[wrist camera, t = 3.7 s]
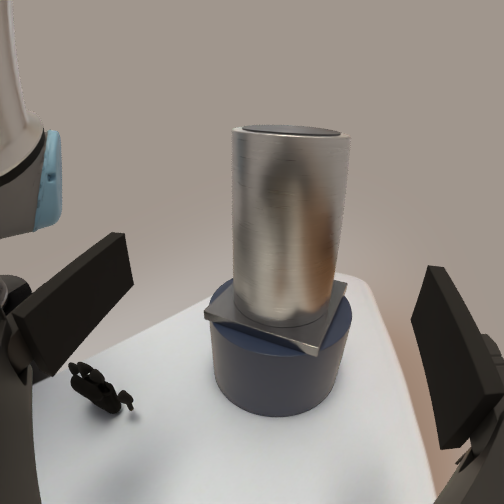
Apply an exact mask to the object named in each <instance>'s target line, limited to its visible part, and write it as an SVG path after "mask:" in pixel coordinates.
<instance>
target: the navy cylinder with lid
mask: <svg viewBox="0 0 504 504" xmlns="http://www.w3.org/2000/svg"><path fill="white" fill-rule="evenodd" d="M346 289H347V283H345V282H340V281H336V280H333V286H332V292H331V298H330V303H329V307H328V309H327V311H326V312H325V313H324V314H323V315H322V316H321V317H320V318H319V319H317V320H315V321H313V322H311V323H309V324H305V325H301V326H296V327H274V326H269V325H265V324H261V323H259V322H256V321H254V320H252V319H250V318H248V317H247V316H245V315H244V314H243V313H242V312H241V311H240V310H239V309H238V308H237V306H236V304H235V302H234V291H233V278H232V279H231V280H229V281H227V282H225V283H224V284H223V285H221V286H220V287H219V288H218V289H217V290H216V292H215V293H214V294H213V296H212V298H211V300H210V304H209V306H208V307H207V308H206V309H205V310H204V319H206V320H209V321H210V332H211V343H212V353H213V363H214V373H215V378H216V382H217V384H218V386H219V388H220V390H221V391H222V393H223V394H224V395H225V396H226V397H227V398H228V399H229V400H230V401H231V402H232V403H234V404H235V405H237V406H238V407H240V408H242V409H244V410H246V411H248V412H251V413H254V414H258V415H263V416H270V417H285V416H292V415H296V414H300V413H303V412H305V411H308V410H310V409H312V408H313V407H315V406H317V405H318V404H319V403H321V402H322V401H323V400H324V399H325V398H326V397H327V396H328V394H329V393H330V391H331V389H332V387H333V385H334V382H335V379H336V375H337V372H338V369H339V365H340V362H341V358H342V355H343V351H344V348H345V344H346V340H347V337H348V333H349V329H350V325H351V321H352V311H351V307H350V304H349V302H348V300H347V298H346V297H345V296H344V295H345V292H346Z"/></svg>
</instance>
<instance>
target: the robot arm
mask: <svg viewBox="0 0 504 504" xmlns="http://www.w3.org/2000/svg"><path fill="white" fill-rule="evenodd" d="M61 211H62V162H61V140H60V135H59V133H58V131H51V130H48V131H47V132H45V133H44V128H43V124H42V120H41V118H40V116H38V114H36V113H34V112H32V111H30V110H26V107H25V103H24V98H23V92H22V87H21V81H20V75H19V68H18V61H17V53H16V44H15V33H14V18H13V0H0V239H2V238H6V237H10V236H15V235H19V234H24V233H29V232H35V231H37V230H38V229H41V228H44V227H48V226H51V225H53V224H55V223H56V222H57V221H58V220H59V218H60V215H61ZM133 285H134V282H133V277H132V273H131V267H130V262H129V256H128V251H127V245H126V239H125V234H124V233H115V232H111V233H110V234H109V235H107V236H106V237H105V238H103V239H102V240H100V241H99V242H98V243H96V244H95V245H94V246H92V247H91V248H90V249H88V250H87V251H86V252H84V253H83V254H82V255H80V256H79V257H78V258H76V259H75V260H74V261H73V262H71V263H70V264H69V265H67V266H66V267H65V268H64V269H62V270H61V271H60V272H58V273H57V274H56V275H55V276H54V277H52V278H51V279H50V280H49V281H47V282H46V283H44V284H43V285H42V286H41V287H39V288H38V289H37V290H36V291H35V292H33V293H32V294H31V295H30V296H29V297H27V298H26V299H25V300H24V301H23V302H22V303H20V304H19V305H18V306H17V307H16V308H15V309H14V310H12V311H11V312H10V313H9V314H8V315H7V316H5V313H6V312H7V310H8V307H9V304H10V294H9V292H8V289H7V287H6V284H5V283H4V281H3V280H2V278H1V277H0V504H41V498H40V492H39V486H38V479H37V472H36V463H35V453H34V441H33V422H32V376H33V371H32V367H31V365H30V363H31V362H32V361H33V360H34V361H35V362H36V364H37V366H38V368H39V370H40V371H42V372H44V373H46V374H48V375H50V376H52V377H53V376H54V375H55V374H56V373H57V371H58V370H59V369H60V368H61V367H62V365H63V364H64V363H65V362H66V361H67V359H68V358H69V357H70V356H71V355H72V354H73V352H74V351H75V350H76V349H77V348H78V346H79V345H80V344H81V343H82V342H83V341H84V339H85V338H86V337H87V336H88V335H89V334H90V333H91V332H92V330H93V329H94V328H95V327H96V326H97V325H98V324H99V322H100V321H101V320H102V319H103V318H104V317H105V316H106V315H107V314H108V312H109V311H110V310H111V309H112V308H113V307H114V306H115V305H116V304H117V303H118V301H119V300H120V299H121V298H122V297H123V296H124V295H125V294H126V293H127V292H128V291H129V289H130V288H131V287H132V286H133ZM411 323H412V326H413V330H414V333H415V336H416V340H417V344H418V347H419V351H420V355H421V358H422V363H423V366H424V370H425V375H426V379H427V383H428V387H429V392H430V396H431V401H432V406H433V411H434V416H435V422H436V427H437V432H438V438H439V445H440V449H441V450H444V449H453V448H460V447H461V446H462V445H463V444H464V443H465V442H466V441H467V440H468V439H469V437H470V441H471V447H470V449H469V450H468V451H467V452H466V453H465V454H464V455H462V457H461V458H459V459H458V461H457V462H456V463H455V464H457V465H458V464H459V463H460V464H459V466H458V467H457V469H456V471H455V472H454V474H453V475H452V477H451V478H450V480H449V482H448V483H447V485H446V486H445V488H444V489H443V491H442V492H441V493H440V495H439V496H438V498H437V499H436V500H435V502H434V503H433V504H504V359H503V357H501V353H500V350H499V348H498V346H497V344H496V343H495V342H494V341H493V340H492V339H491V338H490V337H489V336H488V335H487V334H481V333H480V331H479V329H478V327H477V326H476V323H475V322H474V320H473V318H472V316H471V314H470V312H469V310H468V308H467V306H466V305H465V303H464V301H463V299H462V297H461V295H460V294H459V292H458V291H457V288H456V287H455V285H454V283H453V282H452V280H451V278H450V277H449V275H448V273H447V272H446V270H445V268H444V267H438V266H429V265H428V267H427V271H426V274H425V277H424V281H423V284H422V287H421V290H420V294H419V296H418V300H417V303H416V305H415V308H414V311H413V314H412V317H411Z"/></svg>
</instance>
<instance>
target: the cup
mask: <svg viewBox="0 0 504 504" xmlns="http://www.w3.org/2000/svg"><path fill="white" fill-rule="evenodd" d="M350 139H351V137H350V135H347V134H345V133H341V132H337V131H333V130H328V129H321V128H314V127H304V126H289V125H252V126H244V127H237V128H234V129H232V232H233V291H234V302H235V304H236V306H237V308H238V309H239V310H240V311H241V312H242V313H243V314H244V315H245V316H247V317H248V318H250V319H252V320H254V321H256V322H259V323H261V324H265V325H269V326H274V327H296V326H301V325H305V324H309V323H311V322H313V321H315V320H317V319H319V318H320V317H321V316H322V315H323V314H324V313H325V312H326V311H327V309H328V307H329V303H330V298H331V292H332V286H333V280H334V274H335V268H336V262H337V255H338V248H339V241H340V234H341V227H342V219H343V211H344V203H345V194H346V184H347V174H348V164H349V151H350Z"/></svg>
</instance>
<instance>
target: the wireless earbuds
mask: <svg viewBox="0 0 504 504" xmlns="http://www.w3.org/2000/svg"><path fill="white" fill-rule="evenodd" d="M68 367H69V370H70V372H71V373H72V374H73V376H72V378H71V386H72V388H73V389H74V390H75V391H76V392H78V393H79V394H81V395H83V396H84V397H86V398H87V399H89V400H91V402H92V403H94V404H95V405H97V406H98V407H100V408H102V409H103V410H105V411H107V412H109V413H112V414H115V413H118V412H119V411H120V409H121V403H124V404H126V405H127V407H128V409H129V410H130V411H132V410H133V409H134V407H133V405H132V402H133V398H132V396H131V395H130V394H128V393H127V392H126V391H125V390H122V391H121V392H120V393H119V394H118V396H117V394H116V392H115V390H114V387H113V385H112V384H111V383H108V382H106V381H104V380H105V378H104V376H103V375H102V374H101V373H100V372H99V371H98V370H97V369H93V368H92V367H91V366H90V365H88V364H85V363H83V362H78V363H77V365H76V364H74V363H69V364H68ZM78 373H80V374H81V376H82V378H81V377H79V376H78V375H77V374H78ZM88 373H90V374H89V375H87V374H88Z"/></svg>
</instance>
